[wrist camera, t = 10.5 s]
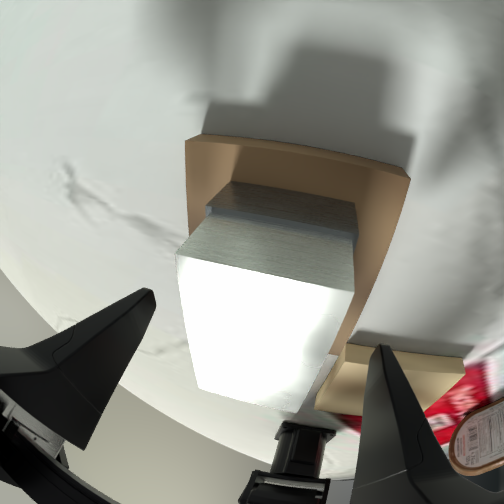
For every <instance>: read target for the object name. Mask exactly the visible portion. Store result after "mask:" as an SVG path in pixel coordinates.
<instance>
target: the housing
mask: <svg viewBox="0 0 504 504" xmlns="http://www.w3.org/2000/svg"><path fill="white" fill-rule="evenodd" d="M205 214H206V218H205V219H204V220H203V221H202V223H201V224H200V225H199V226H198V227H197V228H196V229H195V231H194V232H193V233H192V234H191V235H190V236H189V237H188V239H187V240H186V241H185V242H184V243H183V244H182V246H181V247H180V248H179V249H178V250H177V251H176V253H175V261H176V269H177V276H178V283H179V289H180V295H181V302H182V308H183V313H184V319H185V325H186V330H187V335H188V340H189V345H190V350H191V355H192V360H193V365H194V369H195V374H196V378H197V382H198V387H199V388H201V389H204V390H207V391H210V392H213V393H217V394H220V395H223V396H226V397H230V398H233V399H237V400H241V401H244V402H248V403H252V404H256V405H260V406H264V407H268V408H273V409H277V410H282V411H287V412H292V413H297V412H298V410H299V409H300V407H301V405H302V403H303V401H304V400H305V398H306V396H307V394H308V392H309V390H310V389H311V387H312V385H313V383H314V381H315V379H316V377H317V375H318V373H319V371H320V369H321V367H322V365H323V363H324V361H325V359H326V357H327V355H328V353H329V351H330V349H331V346H332V344H333V342H334V340H335V338H336V336H337V333H338V331H339V329H340V327H341V324H342V322H343V320H344V317H345V315H346V313H347V310H348V308H349V305H350V303H351V300H352V298H353V295H354V293H355V291H354V266H353V254H354V251H355V248H356V245H357V241H358V238H359V228H358V221H357V214H356V208H355V203H354V202H349V201H344V200H340V199H335V198H330V197H325V196H320V195H315V194H310V193H305V192H299V191H294V190H288V189H282V188H276V187H270V186H264V185H258V184H251V183H244V182H237V181H229V182H228V183H227V184H226V185H225V186H224V187H223V188H222V189H221V190H220V191H219V192H218V193H217V194H216V195H215V196H214V197H213V198H212V199H211V200H210V201H209V202H208V203H207V204H206V205H205Z"/></svg>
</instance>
